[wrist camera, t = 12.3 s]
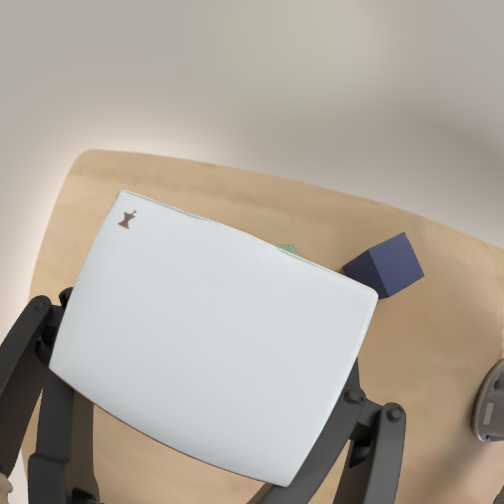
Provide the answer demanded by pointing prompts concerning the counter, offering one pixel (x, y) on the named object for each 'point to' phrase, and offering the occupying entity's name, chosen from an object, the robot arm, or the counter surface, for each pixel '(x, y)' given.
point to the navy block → (386, 267)
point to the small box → (210, 338)
